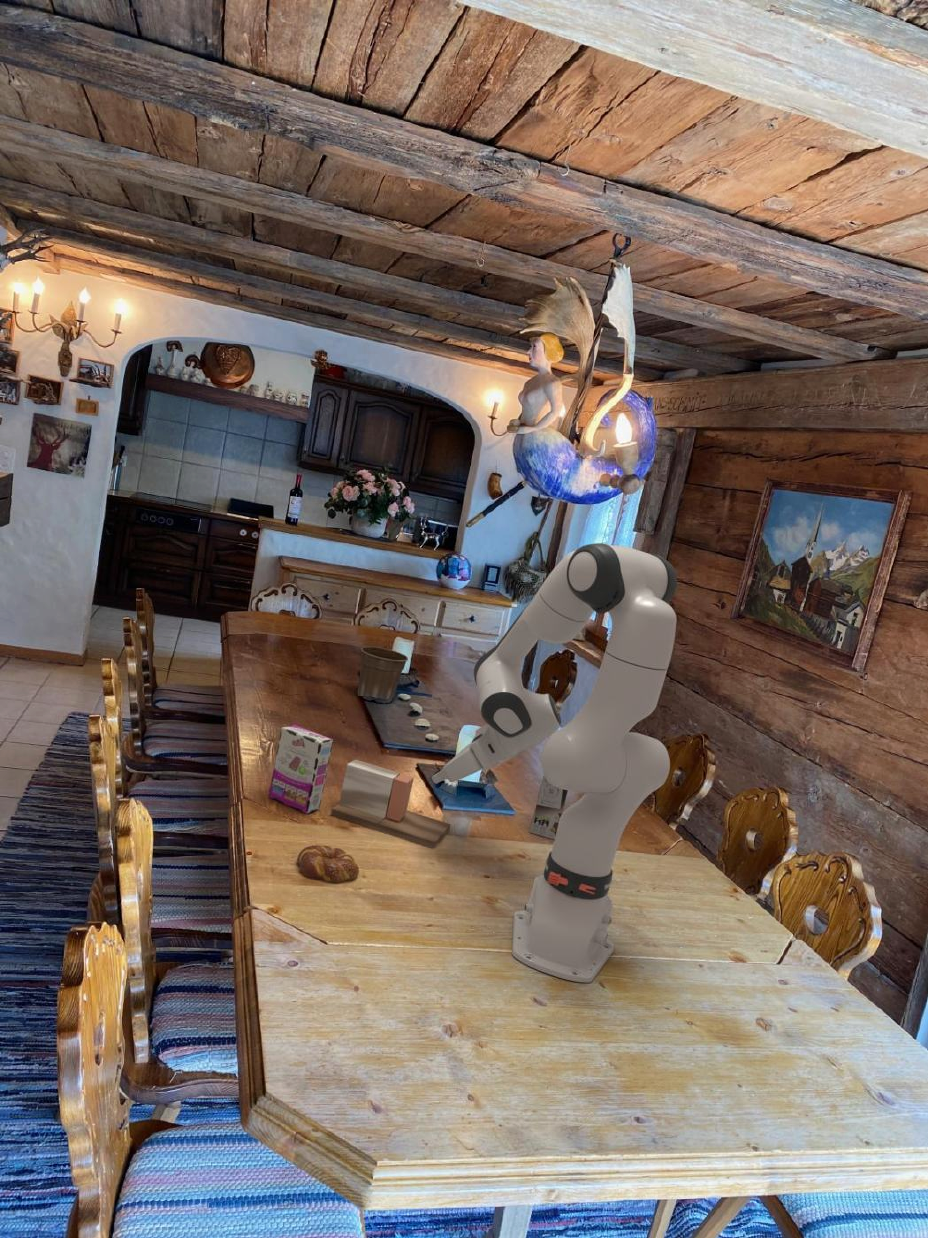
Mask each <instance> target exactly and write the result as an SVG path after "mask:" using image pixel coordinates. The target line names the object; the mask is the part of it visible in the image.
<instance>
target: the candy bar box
mask: <svg viewBox="0 0 928 1238" xmlns="http://www.w3.org/2000/svg"><path fill="white" fill-rule="evenodd" d="M333 742H334V739H333V738H330V737H328V736H324V735H323V734H320V733H317V732H315V731H311V730H309V729H306V728H304V727H302V726H298V725H296V724H292V725H289V726H284V727H281V728H280V734H279V740H278V745H277V749H276V750H277V751H276V755H275V761H274V765H273V772H272V777H271V782H270V786H269V787H270V788H269V793H268V798H270V799H272V800H274V801H277V802H279V803H281V804H284V805H285V806H288V807H290V808H292V809H295V810H296V811H299V812H302V813H303V814H310V813H313V812H316V811H318V810H320V809H321V804H322V800H323V799H322V798H323V795H324V789H325V783H326V778H327V773H328V770H329V763H330V758H331V755H332V754H331V753H332V748H333V744H334V743H333Z"/></svg>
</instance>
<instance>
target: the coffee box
mask: <svg viewBox="0 0 928 1238" xmlns="http://www.w3.org/2000/svg"><path fill="white" fill-rule="evenodd" d="M568 792H569V791H568V790H564V789H561V788H558V787H555V786H553V785H551V784H550V783H549V782H548V781H547V780H546V778H545V776H544V775H543V776H542V781H541V785H540V788H539V792H538V797H537V800H536V804H535V809H534V813H533V817H532V820H531V821H532V822H531V826H530V830H529V832H530V834H533V835H537V836H541V837H545V838H547V839H551V840H553V841H554V840H555V836H556V832H557V828H558V824H559V820H560V817H561V815H562V814H563V812H564V808H565V803H566V800H567V795H568Z"/></svg>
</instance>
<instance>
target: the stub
mask: <svg viewBox="0 0 928 1238" xmlns="http://www.w3.org/2000/svg"><path fill="white" fill-rule="evenodd" d="M414 778H415V777H414V776H412V775H411V776H410V775H407V774H403V773H400V775H399V776H398V777H396V778H395V779H394V784H393V788H392V793H391V798H390V802H389V807H388V812H387V816H386V818H389V819H392V820H395V821H398V822H399V821H400V820H401V819H402V818H403V817H404V816H405V815H406V811H408V806H409V801H410V797H411V791H412V788H413V782H414Z"/></svg>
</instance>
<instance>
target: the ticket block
mask: <svg viewBox="0 0 928 1238" xmlns="http://www.w3.org/2000/svg"><path fill="white" fill-rule="evenodd" d="M400 774H401V773H400V772H397V771H394V770H391V769H387V768H385V767H382V766H381V767H380V766H377V765H375V764H372V763H368V762H365V761H362V760H361V761H360V760H358V759H353V760H352V761H350V762H349V763H347V764H346V769H345V773H344V779H343V783H342V788H341V792H340V798H339V802H338V804H337V805H336V806H335V805H334V807H333V808H332V809H331V813H330V816H332V817H335V818H338V819H341V820H343V821H347V822H351V823H353V824H357V825H359V826H362V827H365V828H369V829H371V830H374V831H377V832H381V833H383V834H384V833H385V834H387V833H388V834H387V835H390V836H393V837H396V838H400V839H402V840H405V841H409V842H411V843H415V844H417V845H420V846H423V847H427V848H430V849H433V850H434V849H435V848H436V847H437V846H438V845H439V843H440V842H441V841H442V839H443V838H444V837H445V836H446V835H447V834H448V833H449V832H450V830H451V823H448V822H444V821H442V820H439V819H436V818H432V817H429V816H425V815H423V814H419V813H416V812H414V811H410V810H407V811H406V815H405V816H404V817H403V818H402V819H401V820H400V821H399V822H398V821H395V820H392V819H389V818H386V816H387V812H388V807H389V802H390V798H391V793H392V788H393V784H394V779H395V778H396V777H398V776H399V775H400Z"/></svg>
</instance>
